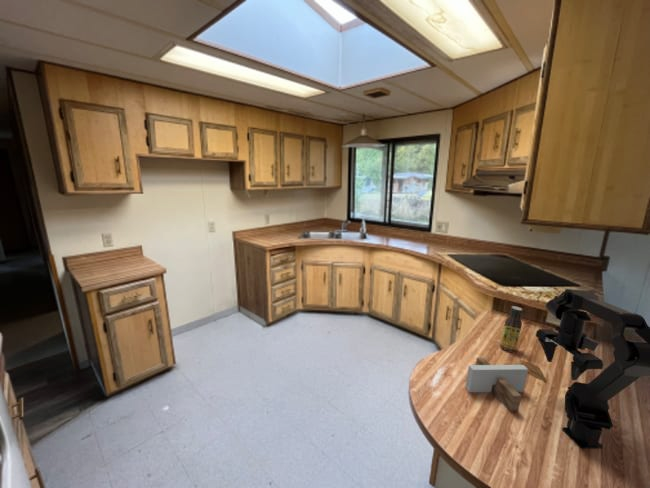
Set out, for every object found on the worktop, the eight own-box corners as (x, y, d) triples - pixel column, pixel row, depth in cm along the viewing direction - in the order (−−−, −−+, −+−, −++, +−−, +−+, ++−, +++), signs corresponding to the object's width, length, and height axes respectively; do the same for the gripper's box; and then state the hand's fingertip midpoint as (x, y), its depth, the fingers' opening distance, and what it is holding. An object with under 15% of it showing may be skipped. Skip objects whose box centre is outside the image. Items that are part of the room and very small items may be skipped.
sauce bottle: (499, 350, 125) (507, 308, 121) (498, 343, 130) (506, 303, 126) (517, 354, 122) (525, 312, 118) (515, 347, 128) (523, 306, 123)
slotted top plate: (469, 392, 99) (472, 369, 97) (465, 387, 101) (468, 365, 99) (523, 391, 100) (528, 369, 98) (518, 386, 102) (523, 364, 100)
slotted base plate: (517, 411, 91) (521, 395, 90) (510, 411, 91) (513, 395, 89) (481, 371, 110) (483, 357, 109) (474, 371, 110) (477, 357, 109)
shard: (546, 384, 105) (547, 380, 104) (522, 378, 107) (523, 374, 107) (536, 367, 115) (537, 363, 114) (514, 362, 117) (515, 358, 117)
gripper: (627, 343, 81) (613, 390, 85) (568, 314, 99) (559, 353, 103) (590, 343, 81) (578, 391, 84) (538, 313, 99) (530, 353, 102)
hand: (561, 370), depth 93 cm, fingers open, 9 cm apart
